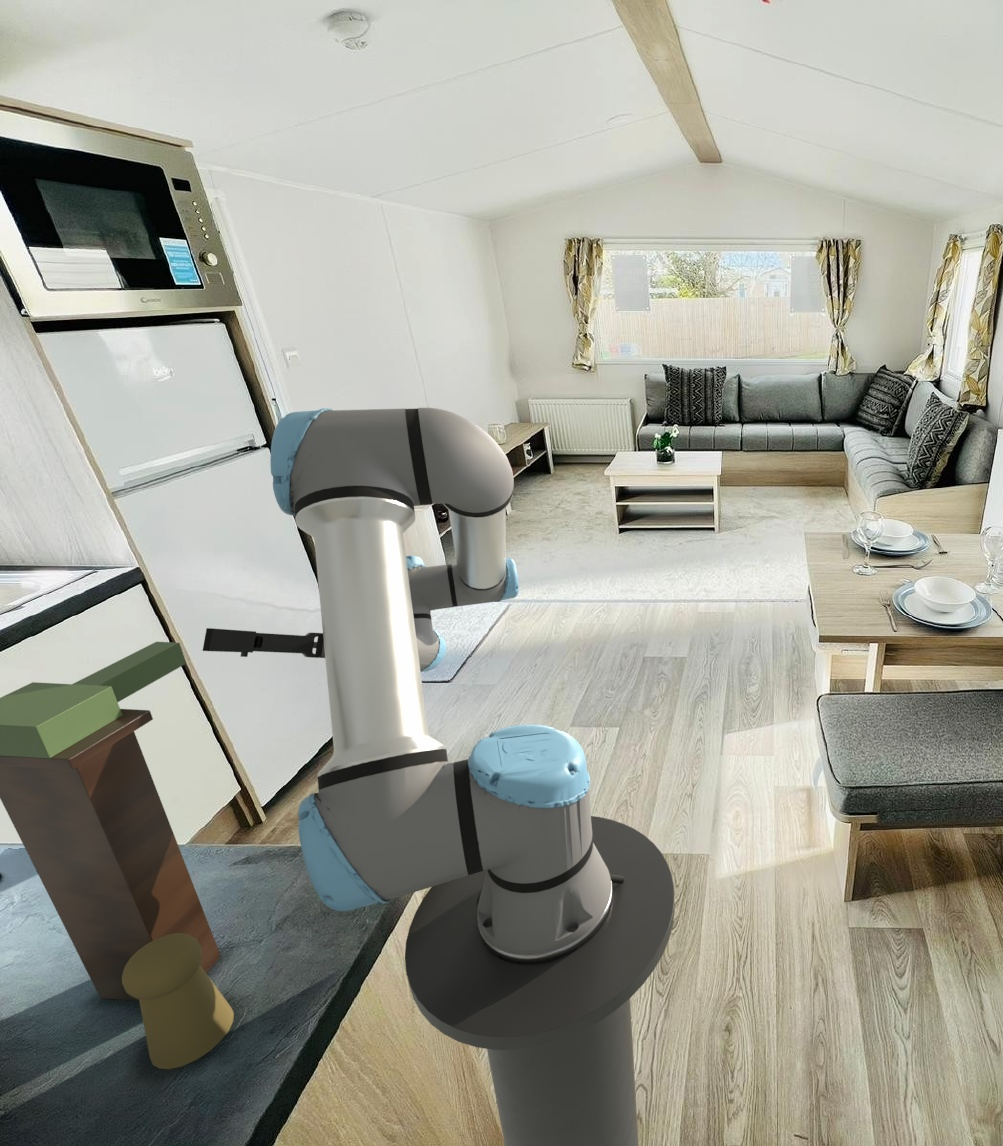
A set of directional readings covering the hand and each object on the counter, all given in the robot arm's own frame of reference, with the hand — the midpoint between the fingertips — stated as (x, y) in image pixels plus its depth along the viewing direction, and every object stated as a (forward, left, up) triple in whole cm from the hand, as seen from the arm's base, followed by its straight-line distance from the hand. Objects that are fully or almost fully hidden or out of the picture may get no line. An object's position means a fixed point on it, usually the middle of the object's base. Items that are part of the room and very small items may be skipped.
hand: (263, 642), depth 76 cm
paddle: (0, +18, +3) cm, 18 cm away
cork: (-8, +27, -27) cm, 39 cm away
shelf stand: (0, +22, -27) cm, 35 cm away
